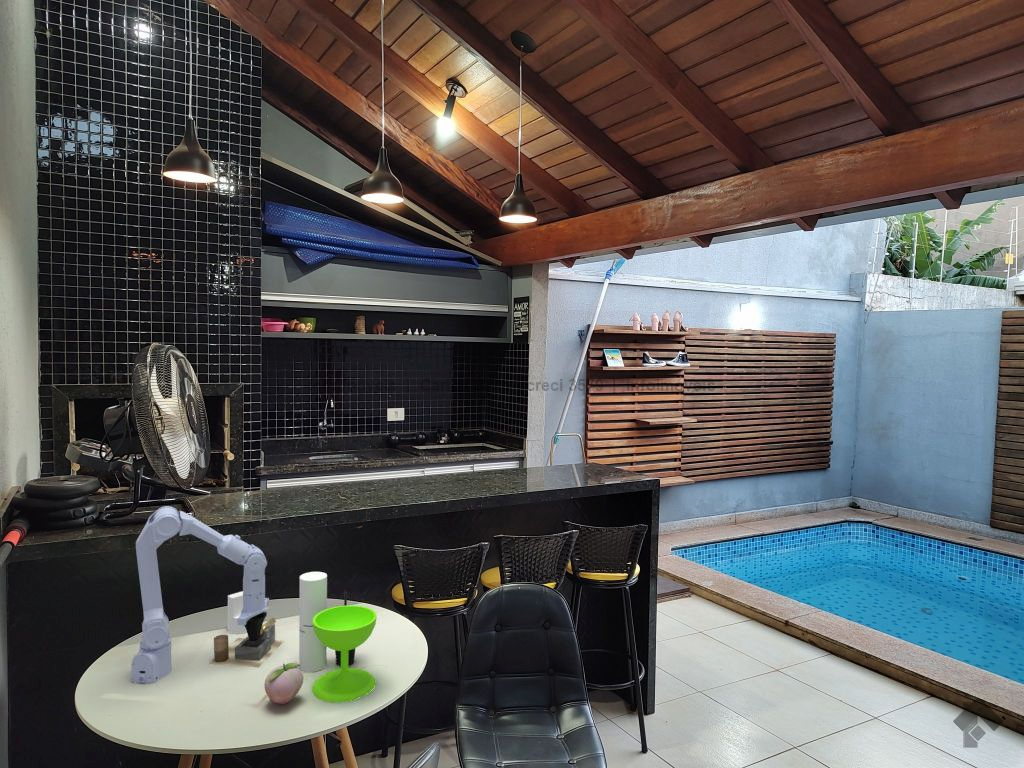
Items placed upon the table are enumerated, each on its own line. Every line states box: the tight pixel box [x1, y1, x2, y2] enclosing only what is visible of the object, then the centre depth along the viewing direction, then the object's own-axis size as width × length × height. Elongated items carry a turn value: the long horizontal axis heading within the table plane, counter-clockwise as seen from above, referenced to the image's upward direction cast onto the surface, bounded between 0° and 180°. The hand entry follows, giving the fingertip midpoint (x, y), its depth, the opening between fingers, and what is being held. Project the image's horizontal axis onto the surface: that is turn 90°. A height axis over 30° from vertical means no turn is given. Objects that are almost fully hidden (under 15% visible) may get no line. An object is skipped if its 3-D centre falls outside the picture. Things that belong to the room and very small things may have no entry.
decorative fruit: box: [263, 662, 305, 705], centre depth 161 cm, size 9×8×10 cm
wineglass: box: [311, 604, 378, 703], centre depth 169 cm, size 16×16×18 cm
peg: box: [213, 634, 229, 662], centre depth 180 cm, size 4×4×6 cm
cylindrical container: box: [298, 571, 328, 673], centre depth 179 cm, size 7×7×25 cm
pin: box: [259, 617, 277, 637], centre depth 191 cm, size 9×2×2 cm, turn 175°
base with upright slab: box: [226, 590, 247, 635], centre depth 200 cm, size 9×9×12 cm
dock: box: [208, 623, 285, 668], centre depth 184 cm, size 16×14×6 cm
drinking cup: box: [334, 590, 356, 667], centre depth 182 cm, size 8×8×20 cm
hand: (253, 640), depth 184 cm, fingers closed
